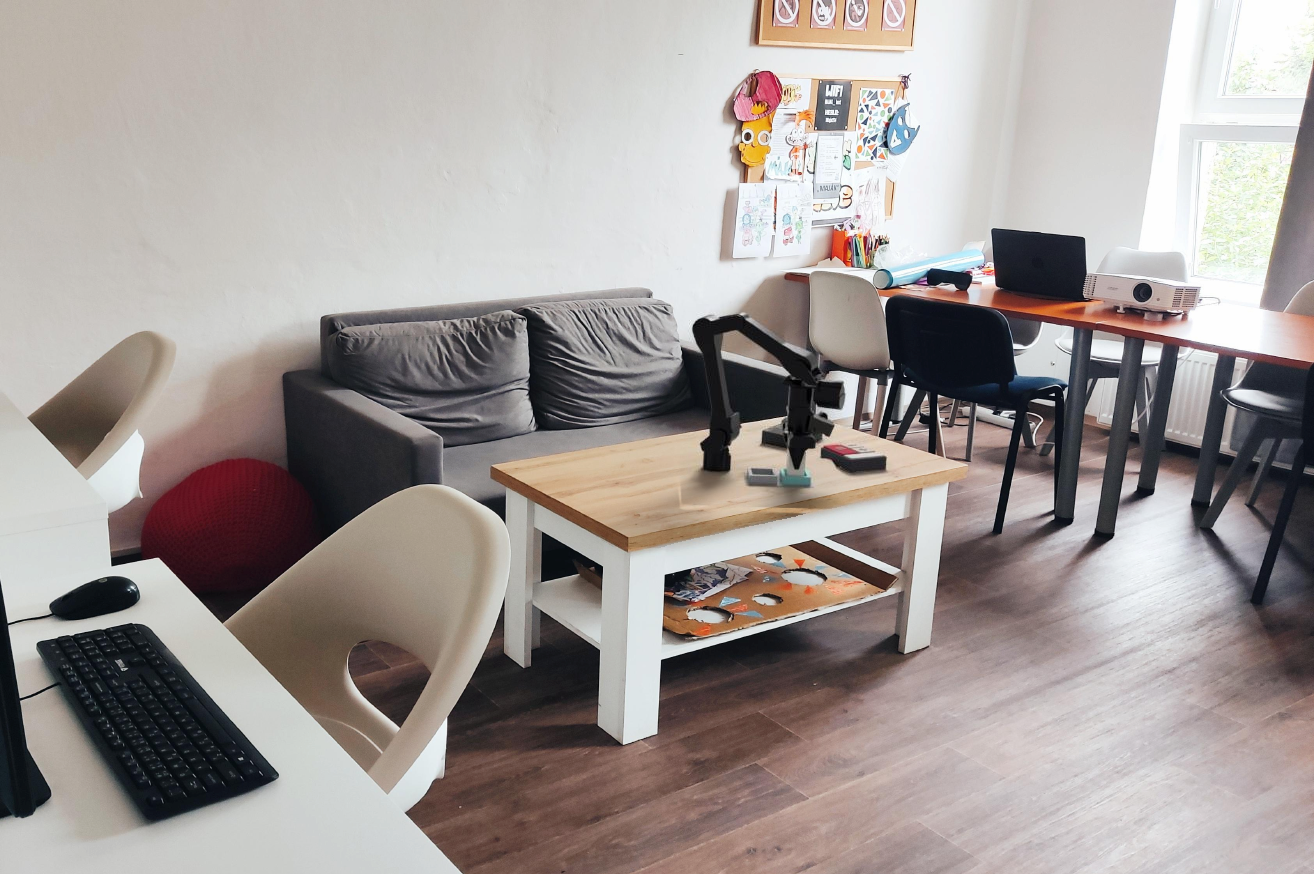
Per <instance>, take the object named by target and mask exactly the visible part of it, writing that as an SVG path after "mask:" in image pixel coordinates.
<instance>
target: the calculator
mask: <svg viewBox="0 0 1314 874" xmlns="http://www.w3.org/2000/svg"><path fill="white" fill-rule="evenodd" d="M820 458H821V459H826V460H831V461H832V463H833V465H836V466H837V467H840V468H841V469H842V470H843V471H846V472H848V473H850V474H852V473H863V472H871V471H883V470H886V469H887V456H886V455H885V454H882V453H880V452H877V451H876V450H875V449H872V448H869V447H866V446H864V445H862V444H858V443H857V442H849V443H841V444H840V443H839V444H827V445H823V447H821V448H820Z"/></svg>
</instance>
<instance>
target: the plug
mask: <svg viewBox="0 0 1314 874" xmlns="http://www.w3.org/2000/svg"><path fill="white" fill-rule="evenodd" d="M786 451H787V452H786V453H787V454H786V466H785V468H786V476H804V474H805V469H806V458H807V456H806V455H807V452H806V451H807V450H806V451H805V453H804V456H803V459H802V462H801V465H800V468H799V470H795V469H794V466H793V463H792V460H791V457H790V453H789V450H788V448H787V450H786Z"/></svg>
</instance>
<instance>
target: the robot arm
mask: <svg viewBox="0 0 1314 874" xmlns="http://www.w3.org/2000/svg"><path fill="white" fill-rule="evenodd" d="M691 331H692V335H693V338H694V341H695V344H696V346H697V348H698V349H699V351H700V353H701V355H702V359H703V364H704V370H705V377H706V384H707V388H708V396H709V401H710V408H711V414H710V420H709V430H708V431H709V432H708V433H709V434H708V436H707V437H705V439H703V440H702V441H700V443H699V445H700V448H701V451H702V470H703V471H707V472H711V473H713V472H714V473H722V472H729V471H731V468H732V467H731V465H732V453H730V448H729V447H730V446H731V445H732V443H733V442H734V441H735V440H736V439H738V437H739V435H740V433H741V431H740V430H741V429H742V428H743V426H742V424H741V421H740V412H734V411H733V410H732V408H731V406H730V399H729V393H728V387H727V382H726V374H725V368H724V363H723V356H722V348H723V347H722V346H723V341H724V334H725V333H730V332H734V331H737V332H739V333H740V334H741V335H743V336H744V337H746V338H747V339H749V340H750V341H751V342H752V343H754V344H756V345H757V346H759V347H760V348H762V349H763V350H764V351H766V352H767V353H768V354H770V355H771V356H773V357H775V359H777V361H778V362H779V363H780V365H781V366H782V368H783V369H784V370H785V371H786V372H787V373H788V375H787V376H786V377H785V379H784V380H782V381H781V382H780V385H781V386H786V387H788V398H787V399H788V400H787V405H786V409H785V410H786V412H787V413H786V414H787V415H786V417H784V418H783V419H781V421H780V424H781V429H782V431H784V430H785V428H786V429H787V430H786V433H783V436H784V440H785V443H786V446H787V448H788V450H789V453H790V457H791V460H792V463H793V466H794V469H795V470H799V468H800V465H801V462H802V459H803V456H804V453H805V451H808V450H809V449H810V450H813V449H814V450H815V449H816V444H817V441H816V440H815V438H814V436H813V435H812V434H811V433H813V430H814V431H817V432H819V433H822V434H823V435H824V436H825V437H828V438H831V435H832V433H833V430H834V428H835V426H836V425H835V423H834V422H833V421H832V420H831V419H829V418H828V417H829V415H828V413H827V412H824V411H822V410H821V411H820V412H819V413H818V414H817V413H814V410H813V409H812V408H813V403H814V405H816V407H817V408H823V409H830V410H831V409H832V410H836V411H837V410H838V411H842V410H843V409H844V405H845V401H846V388H845V385H844V384H845V381H844V380H830V379H826V378H825V375H824V374H823V372H822V371H821V369H820V367H819V366H818V361H817V356H816V355H815V354H814V353H813V352H811V351H809V350H806V349H805V348H802V347H800V346H798V345H797V346H796V345H794V344H790V343H788V342H786V341H785V340H784V339H782V338H781V337H780V336H778V335H776V334H775V333H774V332H772V331H771V330H770V329H768V328H766V327H765V326H763V325H762V324H761V323H759V322H758V321H757V320H756V319H755V320H754V318H752V317H751V316H750V315H749V314H748V313H746V312H744V311H740V312H736V313H735V314H734V313H733V314H728V315H722V316H718V315H715V314H707V315H705V316H702V317H700V318H699V317H698V319H696V320H695V321H694V323H693V324H692V327H691ZM806 432H808V433H806Z"/></svg>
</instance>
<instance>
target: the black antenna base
mask: <svg viewBox="0 0 1314 874" xmlns="http://www.w3.org/2000/svg"><path fill="white" fill-rule="evenodd" d="M786 430H787V429H786V428H785V430H784V431H782V429H781V423H779V424H776V425H772V426H769V427H768V428H766V429H762V431H761V441H760V442H761V444H765V445H768V446H773V447H777V448H781V449H782V448H783V449H785V450H786V449H787V446H786V443H785V440H784V436H783V433H786ZM806 433H808V432H806ZM811 434H812V435H813V436H814V438H815V440H816V442H817V441H820V440H823V435H824V434H822V433H819V432H817V431H814V430H813V433H811Z"/></svg>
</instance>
